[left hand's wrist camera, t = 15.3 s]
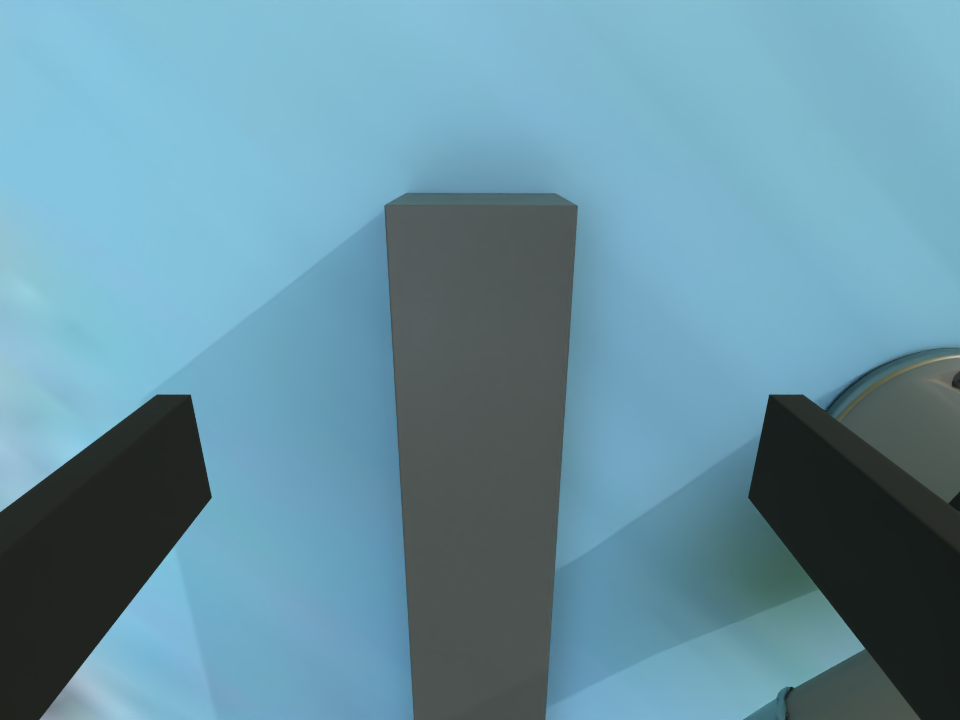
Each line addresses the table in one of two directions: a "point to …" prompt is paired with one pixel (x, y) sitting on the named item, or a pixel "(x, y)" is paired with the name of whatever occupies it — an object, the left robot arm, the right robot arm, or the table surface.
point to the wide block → (480, 440)
